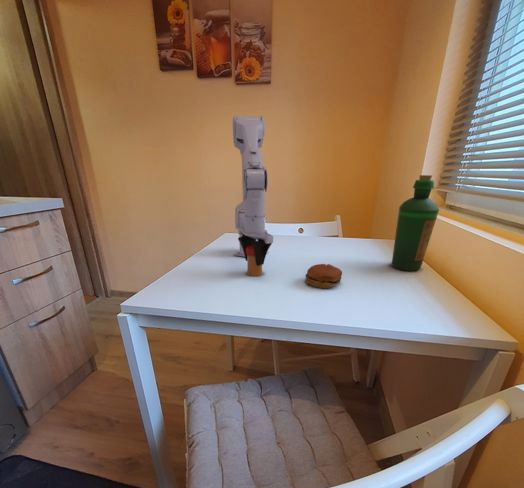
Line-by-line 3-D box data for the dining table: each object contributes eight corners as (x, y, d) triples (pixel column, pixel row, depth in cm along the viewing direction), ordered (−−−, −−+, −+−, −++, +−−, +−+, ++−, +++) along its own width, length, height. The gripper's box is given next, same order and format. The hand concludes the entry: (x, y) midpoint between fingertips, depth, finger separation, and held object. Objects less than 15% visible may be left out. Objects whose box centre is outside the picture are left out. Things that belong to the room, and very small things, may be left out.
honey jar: (251, 270, 87) (251, 246, 84) (264, 272, 85) (264, 248, 82) (244, 274, 83) (244, 250, 80) (258, 277, 81) (258, 252, 78)
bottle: (430, 273, 86) (456, 176, 75) (395, 272, 86) (416, 175, 75) (414, 262, 96) (434, 175, 85) (382, 261, 96) (399, 174, 85)
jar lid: (242, 253, 82) (242, 246, 81) (256, 250, 85) (256, 244, 84) (252, 257, 78) (252, 250, 77) (266, 254, 81) (267, 247, 80)
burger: (309, 289, 73) (310, 272, 72) (302, 276, 82) (304, 261, 80) (346, 289, 74) (348, 272, 72) (335, 276, 82) (337, 261, 81)
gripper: (282, 218, 74) (280, 266, 79) (251, 211, 85) (251, 254, 90) (261, 220, 70) (260, 271, 75) (231, 213, 81) (233, 258, 86)
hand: (254, 262), depth 82 cm, fingers closed on jar lid, 5 cm apart
